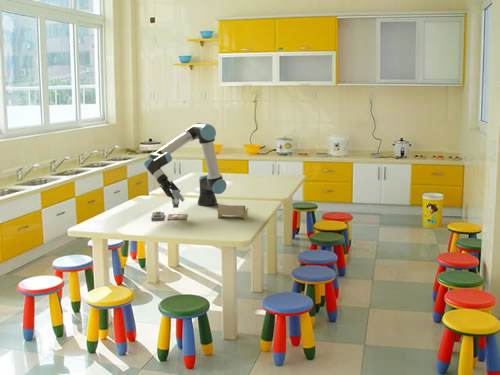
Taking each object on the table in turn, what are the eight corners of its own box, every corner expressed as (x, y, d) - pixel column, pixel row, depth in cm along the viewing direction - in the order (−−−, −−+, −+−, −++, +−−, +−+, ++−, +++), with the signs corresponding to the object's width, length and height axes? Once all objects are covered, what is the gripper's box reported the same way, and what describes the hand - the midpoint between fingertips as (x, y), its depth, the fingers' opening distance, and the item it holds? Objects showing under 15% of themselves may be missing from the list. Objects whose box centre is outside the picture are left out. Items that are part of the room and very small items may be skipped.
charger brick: (179, 205, 458) (179, 190, 455) (179, 207, 453) (178, 191, 450) (172, 206, 458) (172, 190, 455) (172, 207, 453) (172, 191, 450)
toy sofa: (248, 217, 459) (248, 203, 457) (246, 219, 450) (246, 205, 449) (219, 216, 463) (219, 202, 461) (217, 218, 454) (216, 204, 453)
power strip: (152, 216, 464) (152, 211, 464) (164, 216, 465) (163, 211, 464) (151, 222, 447) (151, 216, 446) (163, 221, 448) (163, 216, 447)
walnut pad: (187, 215, 465) (186, 213, 464) (186, 220, 449) (186, 218, 449) (168, 215, 464) (168, 214, 464) (167, 220, 448) (167, 219, 448)
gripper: (165, 178, 467) (184, 202, 463) (149, 182, 450) (169, 207, 445) (171, 171, 464) (191, 195, 459) (155, 175, 446) (175, 200, 442)
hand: (180, 201), depth 452 cm, fingers closed on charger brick, 7 cm apart
